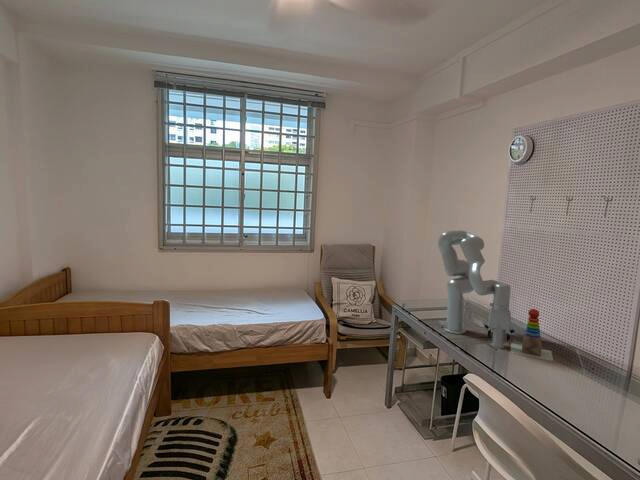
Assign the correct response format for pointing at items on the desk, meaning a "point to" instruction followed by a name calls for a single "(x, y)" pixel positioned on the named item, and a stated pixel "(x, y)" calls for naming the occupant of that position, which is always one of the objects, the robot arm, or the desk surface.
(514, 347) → the base board
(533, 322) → the stacking toy
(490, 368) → the desk surface
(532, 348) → the walnut block
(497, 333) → the energy drink can
